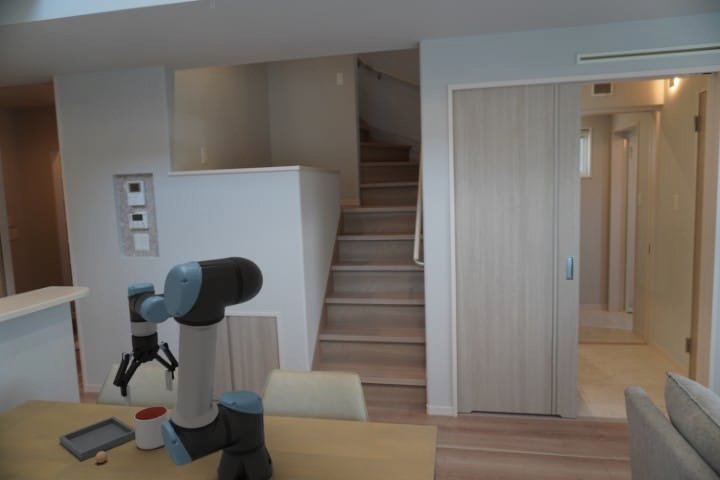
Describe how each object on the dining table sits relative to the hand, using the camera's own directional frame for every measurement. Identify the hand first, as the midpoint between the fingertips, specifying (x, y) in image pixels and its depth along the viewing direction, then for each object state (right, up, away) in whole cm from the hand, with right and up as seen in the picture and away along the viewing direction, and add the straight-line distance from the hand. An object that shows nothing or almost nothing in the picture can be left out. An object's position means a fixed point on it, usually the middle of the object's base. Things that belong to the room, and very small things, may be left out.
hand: (149, 397), depth 152 cm
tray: (-18, -15, +4) cm, 24 cm away
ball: (-10, -16, -9) cm, 21 cm away
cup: (+1, -15, +1) cm, 15 cm away
